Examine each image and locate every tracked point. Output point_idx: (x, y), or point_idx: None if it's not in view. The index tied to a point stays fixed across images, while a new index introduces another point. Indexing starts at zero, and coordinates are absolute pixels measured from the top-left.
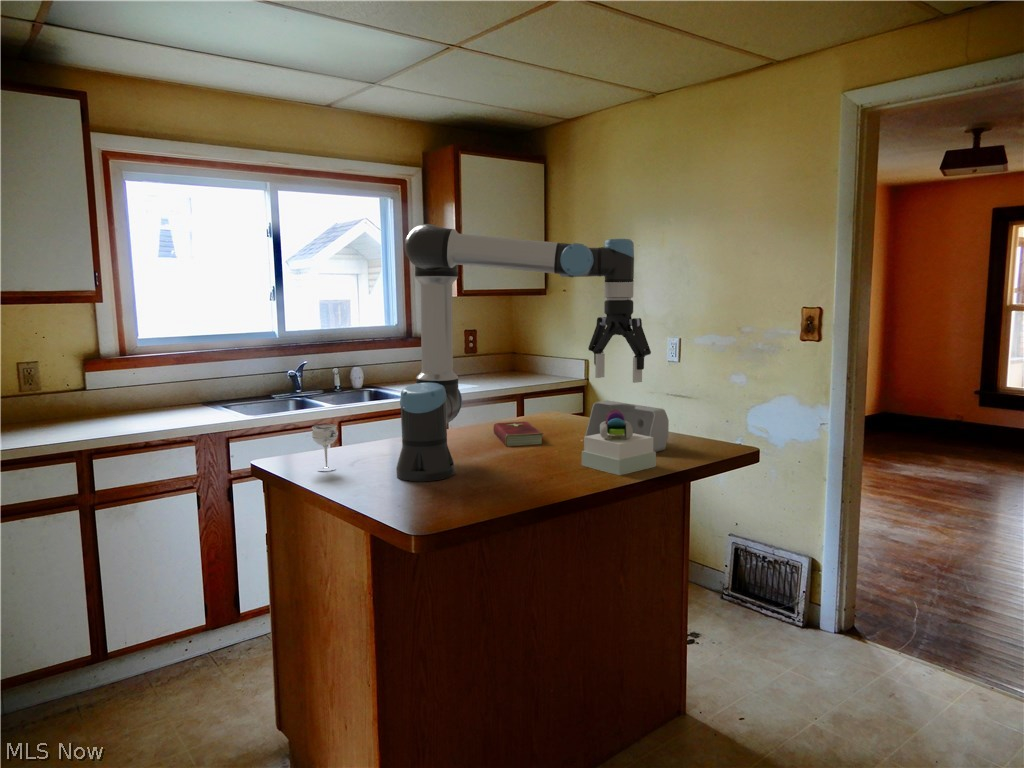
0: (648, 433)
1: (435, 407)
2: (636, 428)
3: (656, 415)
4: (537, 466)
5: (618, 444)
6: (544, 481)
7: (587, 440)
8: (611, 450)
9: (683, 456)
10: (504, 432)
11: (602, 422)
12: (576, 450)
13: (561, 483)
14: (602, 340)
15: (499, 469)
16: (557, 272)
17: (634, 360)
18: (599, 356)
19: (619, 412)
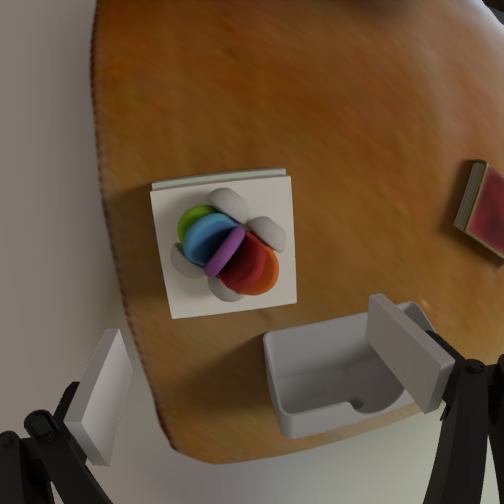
0: (328, 396)
1: None
2: (359, 392)
3: (279, 412)
4: (327, 89)
5: (152, 191)
6: (217, 29)
7: (274, 176)
8: (181, 185)
9: (212, 379)
10: (500, 177)
11: (273, 232)
12: (382, 246)
13: (183, 47)
14: (459, 455)
15: (348, 25)
16: None
17: (73, 406)
18: (427, 371)
19: (213, 266)
